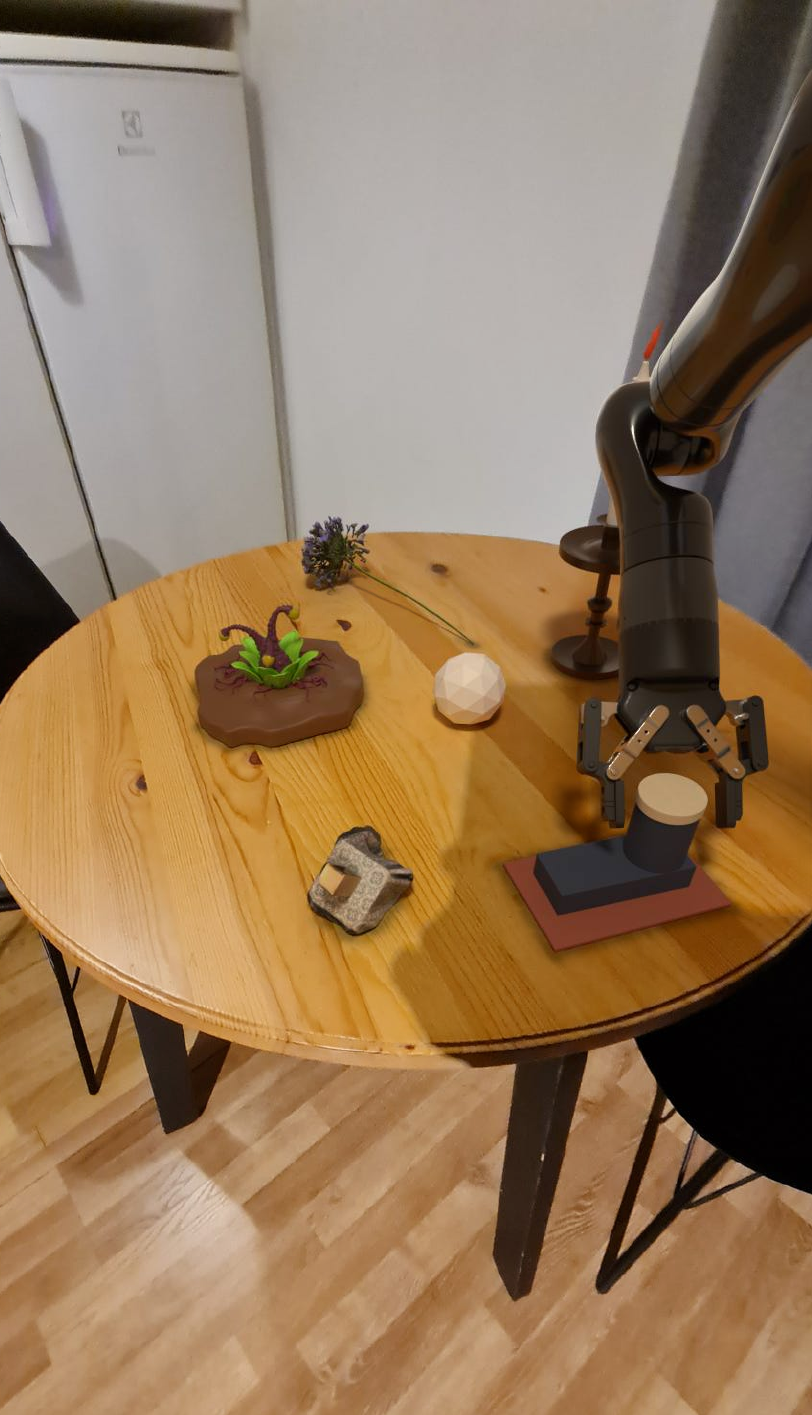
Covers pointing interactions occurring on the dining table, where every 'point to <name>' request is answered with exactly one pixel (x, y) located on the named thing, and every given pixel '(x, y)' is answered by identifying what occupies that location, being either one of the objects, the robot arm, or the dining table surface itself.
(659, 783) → the bootie
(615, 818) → the robot arm
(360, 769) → the dining table surface
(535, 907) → the mat
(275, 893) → the dining table surface
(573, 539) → the candlestick
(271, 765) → the dining table surface
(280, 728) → the plant
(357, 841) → the grey patterned crumpled piece
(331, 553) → the flower
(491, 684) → the geometric ball
